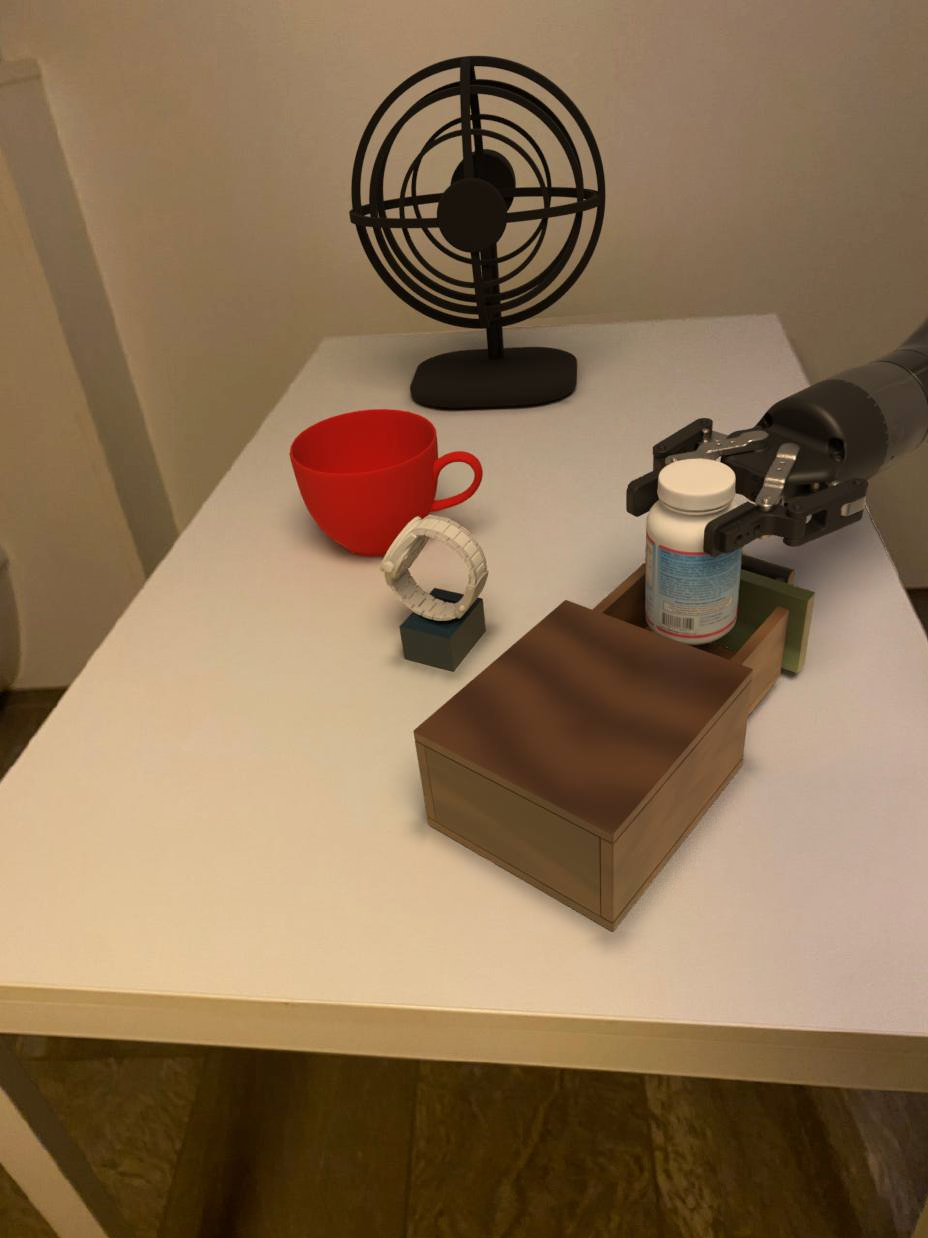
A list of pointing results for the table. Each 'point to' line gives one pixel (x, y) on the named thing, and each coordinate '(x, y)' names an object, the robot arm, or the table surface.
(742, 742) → the cabinet
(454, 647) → the watch
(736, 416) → the table surface
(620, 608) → the drawer
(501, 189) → the desk fan
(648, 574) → the pill bottle
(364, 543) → the ceramic cup
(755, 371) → the table surface
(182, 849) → the table surface
